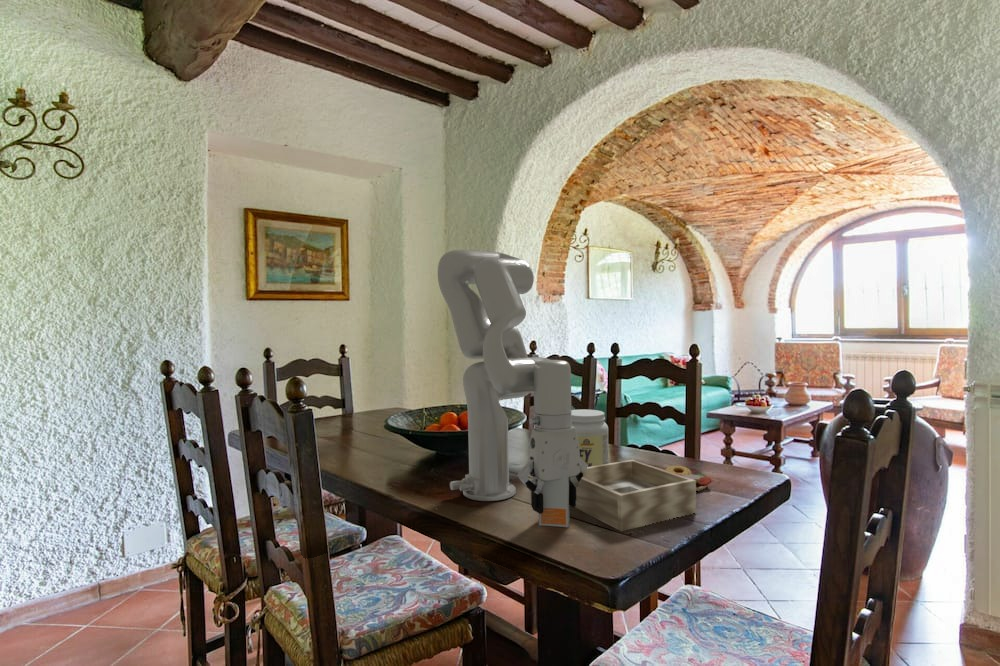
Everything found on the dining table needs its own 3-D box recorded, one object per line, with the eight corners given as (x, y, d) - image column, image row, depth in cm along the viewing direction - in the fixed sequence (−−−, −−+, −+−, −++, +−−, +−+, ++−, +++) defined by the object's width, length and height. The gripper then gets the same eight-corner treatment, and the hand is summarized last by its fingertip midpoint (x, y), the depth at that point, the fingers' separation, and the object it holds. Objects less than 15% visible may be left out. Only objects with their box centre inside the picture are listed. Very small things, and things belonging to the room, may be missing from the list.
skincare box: (538, 526, 111) (537, 467, 111) (540, 518, 115) (539, 461, 115) (568, 528, 110) (567, 468, 110) (570, 520, 114) (569, 462, 114)
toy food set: (675, 475, 146) (675, 463, 146) (721, 487, 135) (721, 474, 135) (642, 485, 138) (642, 472, 138) (688, 498, 127) (688, 484, 127)
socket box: (621, 531, 108) (620, 495, 108) (563, 501, 126) (563, 471, 125) (696, 513, 117) (695, 480, 117) (632, 488, 135) (632, 459, 134)
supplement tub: (554, 479, 143) (553, 414, 142) (571, 468, 154) (570, 407, 153) (600, 485, 137) (599, 417, 137) (614, 473, 148) (613, 410, 147)
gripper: (524, 429, 105) (526, 522, 105) (599, 419, 113) (600, 506, 113) (506, 422, 111) (507, 510, 112) (577, 414, 119) (578, 496, 120)
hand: (554, 507), depth 112 cm, fingers closed on skincare box, 7 cm apart
